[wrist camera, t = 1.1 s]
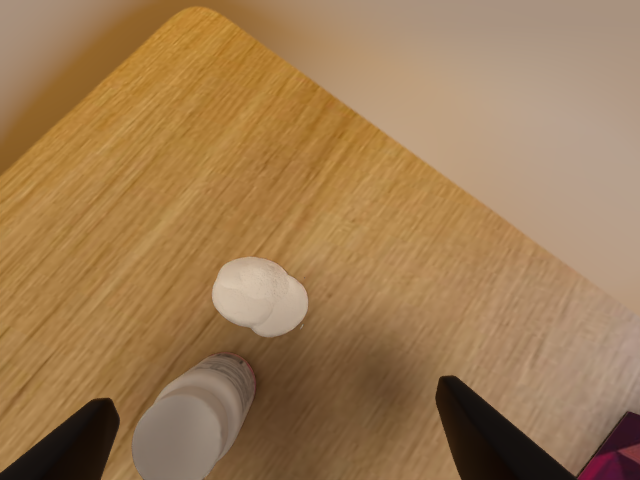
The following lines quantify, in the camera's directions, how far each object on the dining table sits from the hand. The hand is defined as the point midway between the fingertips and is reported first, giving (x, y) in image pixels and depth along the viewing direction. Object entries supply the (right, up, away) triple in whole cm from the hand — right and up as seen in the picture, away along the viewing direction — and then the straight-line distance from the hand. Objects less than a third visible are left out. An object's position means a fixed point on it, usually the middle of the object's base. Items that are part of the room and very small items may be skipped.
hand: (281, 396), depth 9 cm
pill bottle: (-6, -6, +14) cm, 16 cm away
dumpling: (-3, 0, +15) cm, 15 cm away
